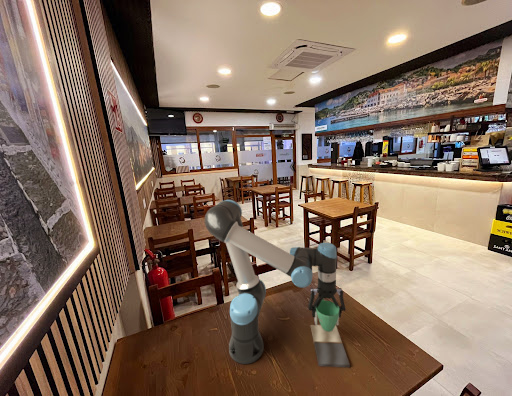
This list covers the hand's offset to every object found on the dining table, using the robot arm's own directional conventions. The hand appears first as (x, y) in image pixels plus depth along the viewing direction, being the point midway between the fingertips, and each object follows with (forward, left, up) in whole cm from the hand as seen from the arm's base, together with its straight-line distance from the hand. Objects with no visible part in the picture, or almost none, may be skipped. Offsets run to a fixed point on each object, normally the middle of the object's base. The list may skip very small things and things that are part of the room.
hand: (326, 322), depth 101 cm
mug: (0, 0, 0) cm, 1 cm away
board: (0, -5, -7) cm, 9 cm away
